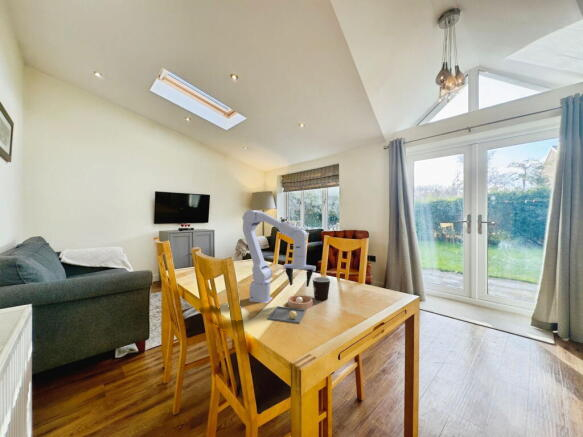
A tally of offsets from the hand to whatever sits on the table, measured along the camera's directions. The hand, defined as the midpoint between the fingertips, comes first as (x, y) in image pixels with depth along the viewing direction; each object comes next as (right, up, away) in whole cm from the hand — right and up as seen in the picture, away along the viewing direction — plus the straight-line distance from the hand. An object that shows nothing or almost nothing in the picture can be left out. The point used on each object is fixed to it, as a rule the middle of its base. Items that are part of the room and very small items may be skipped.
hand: (299, 285), depth 107 cm
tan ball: (-3, -9, -15) cm, 17 cm away
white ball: (0, -9, +1) cm, 9 cm away
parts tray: (-5, -10, -11) cm, 15 cm away
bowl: (0, -9, +1) cm, 9 cm away
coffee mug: (+11, -10, +10) cm, 18 cm away
